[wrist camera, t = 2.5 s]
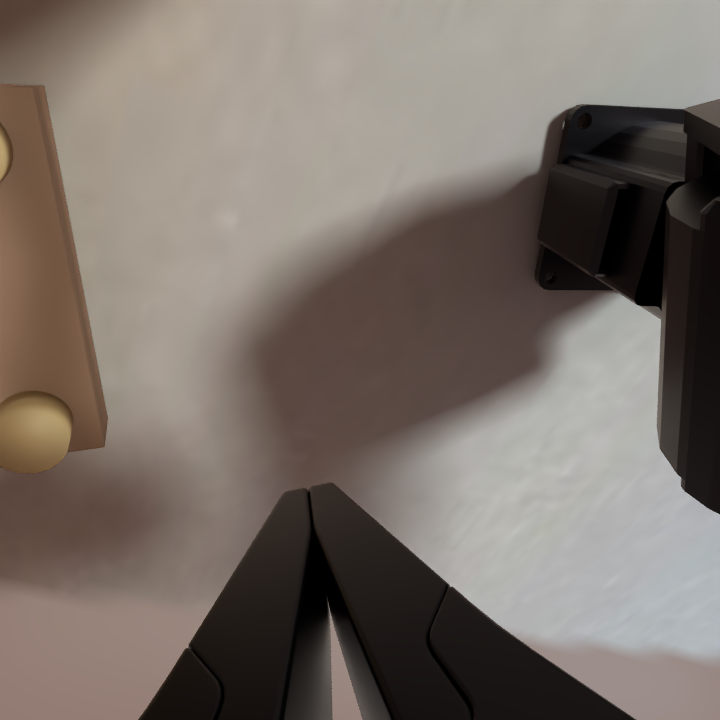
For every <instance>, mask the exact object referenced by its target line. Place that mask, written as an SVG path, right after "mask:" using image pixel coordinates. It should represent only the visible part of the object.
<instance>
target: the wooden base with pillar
mask: <svg viewBox="0 0 720 720" xmlns="http://www.w3.org/2000/svg"><path fill="white" fill-rule="evenodd" d="M107 421H108V417H107V412H106V406H105V401H104V396H103V391H102V386H101V380H100V375H99V370H98V365H97V359H96V354H95V349H94V344H93V339H92V333H91V328H90V323H89V318H88V312H87V307H86V302H85V297H84V291H83V286H82V281H81V276H80V271H79V265H78V260H77V255H76V250H75V244H74V239H73V234H72V229H71V223H70V218H69V213H68V208H67V203H66V197H65V192H64V187H63V182H62V176H61V171H60V166H59V161H58V155H57V150H56V145H55V140H54V135H53V129H52V124H51V119H50V114H49V108H48V103H47V98H46V93H45V88H44V86H37V85H14V84H0V467H2V468H4V469H6V470H9V471H12V472H17V473H37V472H42V471H45V470H48V469H50V468H52V467H54V466H55V465H57V464H58V463H59V462H60V461H61V460H62V459H63V458H64V457H65V455H66V453H67V452H73V451H80V450H87V449H94V448H101V447H105V438H106V430H107Z"/></svg>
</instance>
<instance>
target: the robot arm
mask: <svg viewBox="0 0 720 720" xmlns="http://www.w3.org/2000/svg"><path fill="white" fill-rule="evenodd" d="M583 113H584V114H585V115H586V122H585V125H583V126H582V127H581V128H579V126H578V119H579V116H581V115H582V114H583ZM537 237H538V240H539V241H540V242H541V244H540V249H539V254H538V259H537V264H536V269H535V281H536V283H537V284H538V285H540V286H541V287H542V288H543V289H546V290H615V291H617V292H618V293H620V294H621V295H623V296H624V297H626V298H627V299H629V300H630V301H632V302H634V303H635V304H637V305H639V306H641V307H642V308H644V309H646V310H647V311H649V312H650V313H652V314H653V315H655V316H656V317H658V318H660V319H661V339H660V363H659V387H658V411H657V431H658V439H659V446H660V450H661V451H662V452H663V454H664V455H665V457H666V458H667V460H668V461H669V463H670V464H671V466H672V467H673V469H674V470H675V472H676V473H677V474H678V475H679V476H680V477H681V487H682V488H683V490H684V491H685V492H687V493H688V494H689V495H691V496H692V497H693V498H695V499H696V500H697V501H699V502H700V503H702V504H703V505H704V506H706V507H707V508H709V509H710V510H712V511H714V512H716V513H718V514H720V99H718V100H714V101H711V102H707V103H703V104H699V105H695V106H691V107H688V108H686V109H667V108H647V107H628V106H608V105H588V104H581V105H576V106H575V107H573V108H572V109H571V110H570V111H569V113H568V114H567V117H566V119H565V124H564V129H563V134H562V139H561V144H560V149H559V154H558V159H557V164H556V165H555V166H554V167H553V168H552V169H551V171H550V175H549V180H548V185H547V190H546V195H545V200H544V205H543V210H542V216H541V221H540V226H539V231H538V236H537ZM551 271H553V275H552V278H550V279H549V280H546V281H545V276H546V274H547V273H548V272H551ZM328 603H329V606H328ZM329 607H330V612H331V616H332V620H333V624H334V627H335V631H336V634H337V637H338V641H339V643H340V647H341V650H342V654H343V657H344V660H345V663H346V666H347V670H348V673H349V676H350V680H351V683H352V686H353V689H354V693H355V696H356V699H357V703H358V706H359V709H360V712H361V716H362V719H363V720H636V719H634V718H633V717H631V716H630V715H628V714H627V713H626V712H624V711H623V710H621V709H620V708H618V707H617V706H615V705H614V704H612V703H611V702H609V701H608V700H606V699H605V698H603V697H602V696H601V695H599V694H598V693H596V692H595V691H593V690H592V689H590V688H589V687H587V686H586V685H584V684H583V683H581V682H580V681H578V680H577V679H576V678H574V677H573V676H571V675H570V674H568V673H567V672H565V671H564V670H562V669H561V668H559V667H558V666H556V665H555V664H553V663H552V662H550V661H549V660H547V659H546V658H545V657H543V656H542V655H540V654H539V653H537V652H536V651H534V650H533V649H531V648H530V647H529V646H527V645H526V644H524V643H523V642H522V641H520V640H519V639H517V638H516V637H515V636H513V635H512V634H510V633H509V632H508V631H506V630H505V629H503V628H502V627H501V626H499V625H498V624H497V623H495V622H494V621H493V620H492V619H490V618H489V617H488V616H487V615H485V614H484V613H483V612H482V611H481V610H479V609H478V608H477V607H476V606H474V605H473V604H472V603H471V602H470V601H468V600H467V599H466V598H465V597H464V596H463V595H462V594H460V593H459V592H458V591H457V590H456V589H455V588H454V587H450V586H449V584H448V583H447V582H446V581H444V580H443V579H442V578H441V577H440V576H439V575H438V574H436V573H435V572H434V571H433V570H432V569H431V568H430V567H428V566H427V565H426V564H425V563H424V562H423V561H422V560H420V559H419V558H418V557H417V556H416V555H415V554H414V553H412V552H411V551H410V550H409V549H408V548H407V547H406V546H404V545H403V544H402V543H401V542H400V541H399V540H398V539H396V538H395V537H394V536H393V535H392V534H391V533H390V532H388V531H387V530H386V529H385V528H384V527H383V526H381V525H380V524H379V523H378V522H377V521H376V520H375V519H373V518H372V517H371V516H370V515H369V514H368V513H367V512H365V511H364V510H363V509H362V508H361V507H360V506H359V505H357V504H356V503H355V502H354V501H353V500H352V499H351V498H349V497H348V496H347V495H346V494H345V493H344V492H343V491H341V490H340V489H339V488H338V487H337V486H336V485H334V484H333V483H326V484H321V485H317V486H312V487H311V488H310V489H309V491H308V490H307V489H305V488H302V489H297V490H292V491H288V492H285V493H284V494H283V495H282V496H281V498H280V499H279V501H278V502H277V504H276V506H275V507H274V509H273V510H272V512H271V514H270V515H269V517H268V518H267V520H266V522H265V523H264V525H263V526H262V528H261V530H260V531H259V533H258V534H257V536H256V538H255V539H254V541H253V542H252V544H251V546H250V547H249V549H248V550H247V552H246V554H245V555H244V557H243V558H242V560H241V562H240V563H239V565H238V566H237V568H236V570H235V571H234V573H233V575H232V576H231V578H230V579H229V581H228V583H227V584H226V586H225V587H224V589H223V591H222V592H221V594H220V595H219V597H218V599H217V600H216V602H215V603H214V605H213V607H212V608H211V610H210V611H209V613H208V615H207V616H206V618H205V619H204V621H203V623H202V625H201V626H200V627H199V629H198V631H197V632H196V634H195V636H194V637H193V639H192V640H191V642H190V643H189V648H186V649H185V650H184V652H183V653H182V655H181V656H180V658H179V659H178V661H177V663H176V665H175V666H174V667H173V669H172V671H171V672H170V674H169V675H168V677H167V678H166V680H165V682H164V683H163V684H162V686H161V687H160V689H159V691H158V692H157V694H156V695H155V696H154V698H153V699H152V701H151V702H150V704H149V705H148V707H147V709H146V710H145V711H144V713H143V714H142V715H141V717H140V718H139V719H138V720H332V684H331V683H332V681H331V637H330V614H329Z"/></svg>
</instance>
